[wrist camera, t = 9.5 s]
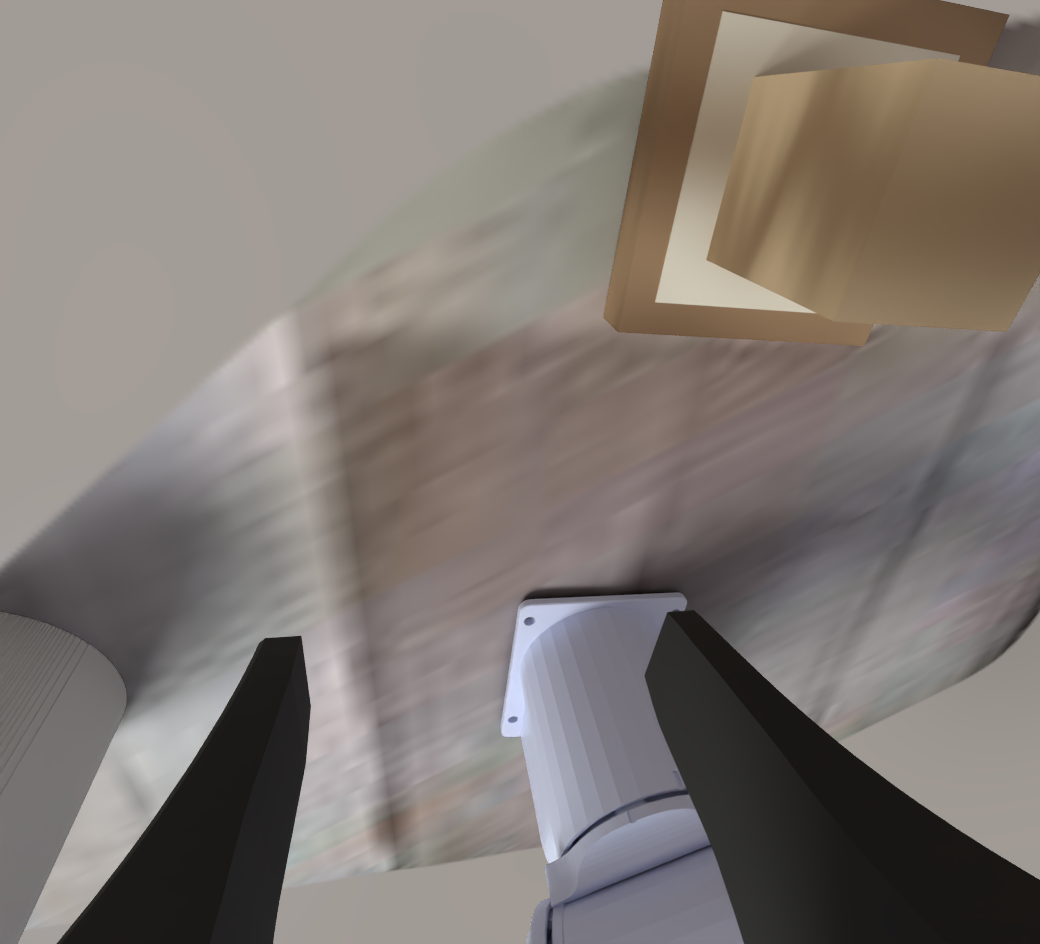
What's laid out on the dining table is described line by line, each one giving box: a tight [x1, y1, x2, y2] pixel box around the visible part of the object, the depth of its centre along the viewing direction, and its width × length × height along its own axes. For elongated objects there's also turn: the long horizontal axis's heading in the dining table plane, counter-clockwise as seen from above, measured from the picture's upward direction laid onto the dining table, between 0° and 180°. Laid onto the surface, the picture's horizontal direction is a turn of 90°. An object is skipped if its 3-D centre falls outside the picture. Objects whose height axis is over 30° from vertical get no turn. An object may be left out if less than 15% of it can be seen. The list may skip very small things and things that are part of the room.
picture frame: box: [603, 0, 1009, 346], centre depth 17 cm, size 9×9×2 cm
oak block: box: [706, 58, 1040, 332], centre depth 14 cm, size 4×4×6 cm
